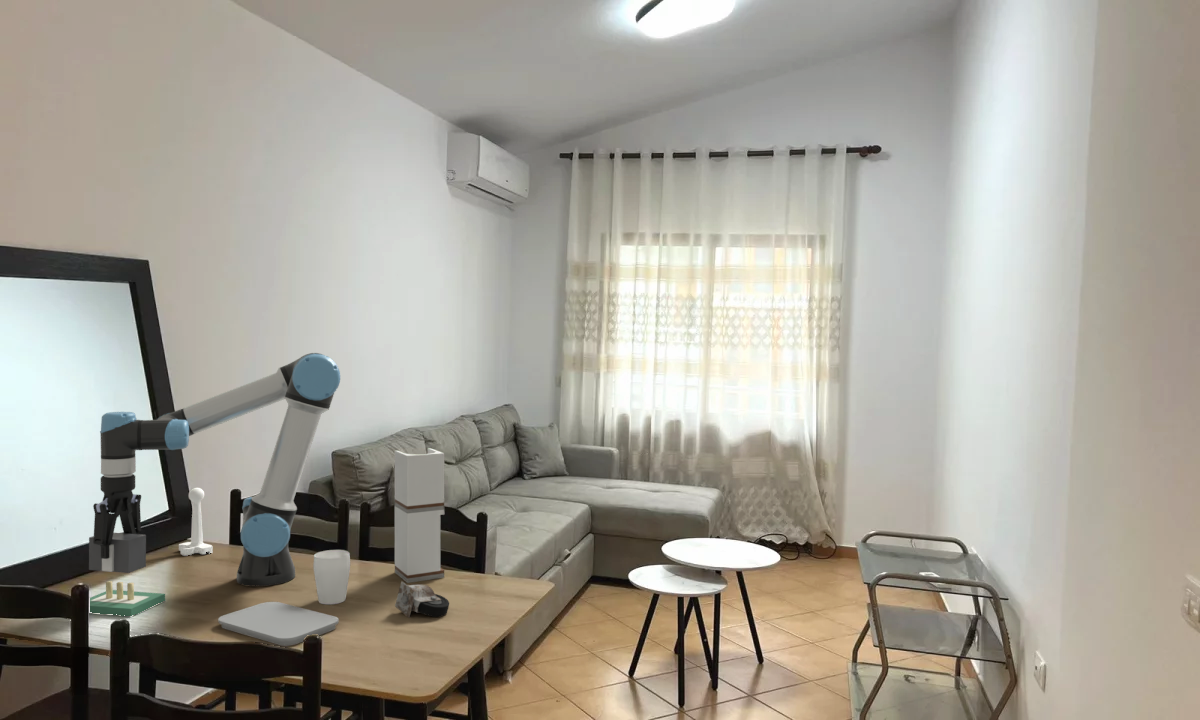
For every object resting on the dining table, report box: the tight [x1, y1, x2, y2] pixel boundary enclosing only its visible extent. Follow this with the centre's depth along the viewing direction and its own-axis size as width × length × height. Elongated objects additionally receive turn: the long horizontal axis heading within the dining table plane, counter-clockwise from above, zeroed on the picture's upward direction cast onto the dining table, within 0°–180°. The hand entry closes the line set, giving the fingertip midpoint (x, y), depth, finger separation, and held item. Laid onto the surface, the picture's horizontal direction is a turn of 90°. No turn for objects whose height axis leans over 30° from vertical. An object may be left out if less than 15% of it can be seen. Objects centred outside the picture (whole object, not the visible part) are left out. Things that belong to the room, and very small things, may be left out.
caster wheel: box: [394, 580, 450, 618], centre depth 211 cm, size 7×11×10 cm
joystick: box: [178, 487, 213, 557], centre depth 264 cm, size 11×8×20 cm
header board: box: [89, 580, 166, 617], centre depth 213 cm, size 16×12×6 cm
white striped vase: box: [394, 447, 445, 584], centre depth 242 cm, size 11×11×35 cm
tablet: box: [217, 601, 340, 647], centre depth 200 cm, size 16×26×2 cm, turn 59°
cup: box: [312, 549, 351, 605], centre depth 219 cm, size 9×9×12 cm
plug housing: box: [88, 532, 147, 574], centre depth 213 cm, size 11×6×8 cm, turn 80°
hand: (117, 567), depth 213 cm, fingers closed on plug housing, 6 cm apart
